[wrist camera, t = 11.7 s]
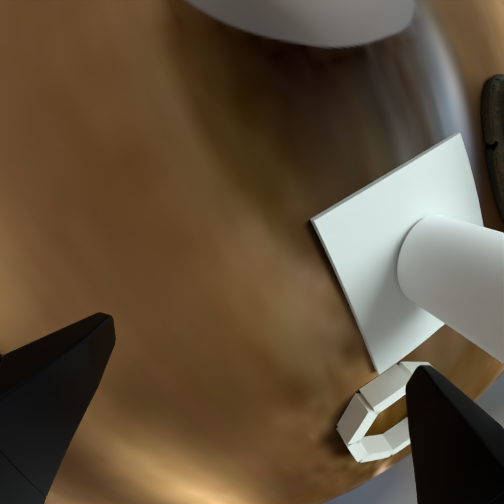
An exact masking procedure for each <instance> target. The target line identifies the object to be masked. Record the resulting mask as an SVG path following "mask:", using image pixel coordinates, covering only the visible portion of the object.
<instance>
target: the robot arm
mask: <svg viewBox="0 0 504 504" xmlns="http://www.w3.org/2000/svg"><path fill="white" fill-rule="evenodd" d="M115 340H116V337H115V329H114V321H113V317H112V316H111V315H108V314H105V313H101V312H98V313H96V314H94V315H91V316H89V317H87V318H85V319H82V320H80V321H78V322H76V323H74V324H71V325H69V326H67V327H65V328H62V329H60V330H58V331H56V332H53V333H51V334H49V335H47V336H45V337H42V338H40V339H38V340H36V341H34V342H31V343H29V344H27V345H25V346H22V347H20V348H18V349H16V350H14V351H11V352H9V353H7V354H5V355H3V357H2V356H1V355H0V504H44V502H45V500H46V496H47V494H48V492H49V490H50V487H51V485H52V482H53V480H54V478H55V476H56V473H57V471H58V469H59V466H60V464H61V462H62V460H63V458H64V455H65V453H66V451H67V449H68V447H69V445H70V442H71V440H72V438H73V436H74V434H75V432H76V430H77V428H78V426H79V424H80V422H81V420H82V418H83V416H84V414H85V412H86V410H87V408H88V406H89V404H90V402H91V400H92V398H93V396H94V394H95V392H96V390H97V388H98V386H99V383H100V381H101V378H102V375H103V373H104V370H105V368H106V365H107V363H108V360H109V358H110V355H111V353H112V350H113V348H114V345H115ZM405 393H406V404H407V416H408V430H409V438H410V444H411V451H412V457H413V465H414V473H415V482H416V492H417V503H418V504H504V429H503V427H502V426H501V425H500V424H499V423H497V422H496V421H495V420H494V419H493V418H492V417H490V415H488V414H487V413H486V412H485V411H484V410H483V409H482V408H480V407H479V406H478V405H477V404H476V403H475V402H473V401H472V400H471V399H470V398H469V397H468V396H467V395H465V394H464V393H463V392H462V391H461V390H460V389H458V388H457V387H456V386H455V385H454V384H452V383H451V382H450V381H449V380H448V379H447V378H445V377H444V376H443V375H442V374H441V373H439V372H438V371H437V370H436V369H435V368H433V367H432V366H431V365H419V366H418V367H417V368H416V369H415V371H414V372H413V374H412V376H411V377H410V379H409V380H408V382H407V384H406V388H405Z"/></svg>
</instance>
